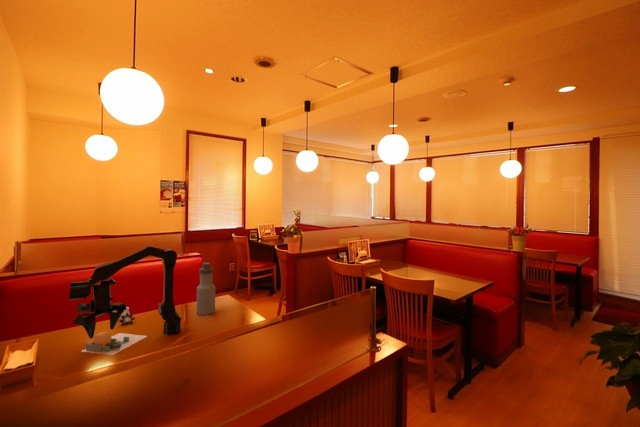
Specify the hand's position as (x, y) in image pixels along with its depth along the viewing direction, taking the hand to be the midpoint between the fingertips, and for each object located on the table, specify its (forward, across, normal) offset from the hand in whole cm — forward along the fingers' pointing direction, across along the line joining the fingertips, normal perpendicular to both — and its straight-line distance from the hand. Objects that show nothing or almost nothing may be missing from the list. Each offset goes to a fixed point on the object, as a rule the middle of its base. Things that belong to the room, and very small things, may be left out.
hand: (101, 333), depth 121 cm
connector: (+6, 0, +3) cm, 7 cm away
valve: (+7, -27, -15) cm, 31 cm away
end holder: (+6, 0, 0) cm, 6 cm away
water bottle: (+7, -50, +16) cm, 52 cm away
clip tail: (+6, 0, +5) cm, 7 cm away
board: (+7, -5, +2) cm, 8 cm away
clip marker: (+6, -5, +5) cm, 9 cm away
